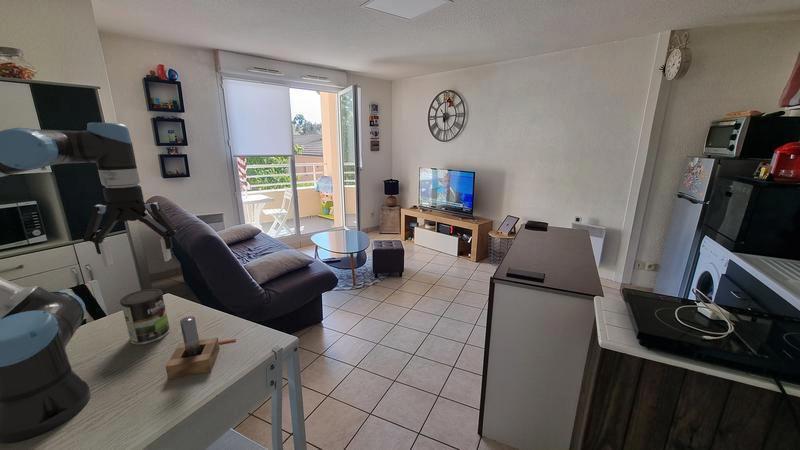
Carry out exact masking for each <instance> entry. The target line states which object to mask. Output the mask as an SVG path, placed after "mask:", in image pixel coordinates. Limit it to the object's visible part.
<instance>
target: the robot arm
mask: <svg viewBox="0 0 800 450" xmlns="http://www.w3.org/2000/svg"><path fill="white" fill-rule="evenodd" d="M86 127H87V128H86V130H61V129H58V130H57V129H39V128H38V129H36V128H35V129H34V128H33V129H32V128H24V127H13V128H12V127H11V128H7V129H3V130H0V178H2V177H6V176H10V175H15V174H19V173H24V172H28V171H32V170H37V169H38V170H39V169H41V168H45V167H48V166H49V167H50V166H56V165H61V164H82V163H83V164H84V163H86V164H91V163H94V164H96V167H97V172H98V176H99V179H100V183H101V186H104V187H103V188H102V193H103V196H104V200H105V202H106V205H103V204H102V203H99V204H96V205H93V206H91V207H90V208H91V216H90V218H89V219H90V220H89V222H88V225H87V228H86V230H85V233H84V235H83V238H82V240H83V241H84V242H91V243H93V244H94V247H95V250H96V253H97V255H101V259H102V263H103V267H109V266H111V265H113V264H114V259H113V254H112V251H111V247H110V246H111V245H110V242H109V240H108V239H106V237H107V236H108V235H109V234H110V232H111V230H112V229H113V228H114V227H115V226H116V224H117V223H118V222H119V221H120V222H123V223H124V222H127V221H129V222H136V221H139V222H140V223H143V224H145V226H146V227H148V228H150V229H151V230H153V231H154V232H155V233H157V235H160V236H161V238H160V240H159V241H160V245H161V250H162V254H163V260H164V262H169V261H170V260H171V259H172V258H173V257H172V253H171V249H172V248H173V247H174V244H173V239H172V237H174V236H176V235H177V234H178V233H179V230H178V228H177V227H176V226H175V225H174V224H173V222H172V221H171V220H170V218H168V216H167V215H166V214H165V213H164V211H163V210H162V209H161V205H160V203H159V202H158V201H155V202H152V203H146V202H145V201H144V199H145V198H144V195H143V190H142V186H141V185H139V184H140V183H141V181H140V174H139V171H138V167H137V161H136V156H135V155H136V154H135V151H134V150H135V149H134V146H133V141H132V140H131V139H132V137H131V135H130V131H129V128H128V126H127V125H125V124H124V123H118V122H116V123H115V122H88V123H87V124H86ZM147 209H148V211H149V212H150V213H151V212H152V214H153V216H154V217H155V218H156V219H157V220H158V221H159V222H160V223H159V222H158V221H156V220H155V219H153V218H152V217H151V215H149V214H148V213H147V212H146V211H147ZM106 212H107V213H108V214H110V216H109V218H108V219H107V221H106V223H105V224H104V225H103V227H101V229H100V230H99V228H100V224H101V222H102V219H103V216H104V214H105V213H106ZM98 230H99V231H98ZM97 232H98V233H97ZM105 239H106V240H105ZM86 312H87V311H86V305H85V303H84V301H83V300H82V298H81V297H79V296H78V295H77V294H75V293H73V292H70V291H66V290H50V291H49V290H47V289H44V288H43V287H41V286H38V285H32V286H20V285H18V284H16V283H14V282H11V281H9V280H8V279H5V278H2V277H1V276H0V443H2V442H10V443H15V442H20V441H21V442H22V441H25V440H27V439H30V438H34V437H36V436H39V435H42V434H44V433H46V432H48V431H50V430H53V429H55V428H56V427H58V426H60V425H61V424H64V423H65V422H66V421H68V420H70V419H71V418H73V416H75V415H76V414H77V413H79V411H81V410H82V409H83V408H84V407H85V406H86V405H87V404H88V402H89V400H90V398H91V395H92V394H91V389H90V386H89V385H88V383H87V382H86V381H84V380H83V379H82V378H81V377H80V376H79V375H78V374H77V373H76V372H75V371H74V370H73V369H72V366H71V363H70V360H69V357H68V353H67V350H66V348H67V345H68V344H69V342H70V340H71V339H72V338H73V336H74V335H75V333H76V332H77V330H78V329H79V328H80V327H81V326H82V324H83V322H84V319H85V316H86Z"/></svg>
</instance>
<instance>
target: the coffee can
mask: <svg viewBox="0 0 800 450" xmlns="http://www.w3.org/2000/svg"><path fill="white" fill-rule="evenodd" d="M119 303H120V305H121V308H122V312H123V315H124V319H125V320H124V321H125V324H126V328H127V333H128V336H129V342H130V343H131V344H133V345H138V346H139V345H146V344H150V343H153V342H156V341H159V340H160V339H162V338H164V337H166V336H167V335H168V334H169V333H170V330H171V328H170V324H169V320H168V315H167V310H166V304H165V300H164V295H163V290H162V289H160V288H147V289H141V290H138V291H137V290H136V291H135V292H132V293H128V294H127V295H125V296H122V298H121V299H120V300H119Z"/></svg>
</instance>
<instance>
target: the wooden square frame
mask: <svg viewBox="0 0 800 450" xmlns="http://www.w3.org/2000/svg"><path fill="white" fill-rule="evenodd" d="M218 341H219V337H217V336H216V337H211V338H205V339H199V343H200V348H201V355H198V356H192V357H187V354H186V349H185V345H184V342H180V343H178V345H177V347H176V348H175V350H174V351H173V353H172V355H171V357H170V358H169V360H168V362H167V363H166V365H165V370H166V374H167V375H166V376H167V380H172V379H176V378H183V377H189V376H194V375H199V374H204V373H210V372H212V369H213V367H214V365H215V363H216V360H217V357H218V354H219V351H220V344H219V342H218Z"/></svg>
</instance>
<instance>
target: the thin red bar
mask: <svg viewBox="0 0 800 450" xmlns="http://www.w3.org/2000/svg"><path fill="white" fill-rule="evenodd" d="M236 341H237V338H232V339H225V340H218V342H219V345H220V344H221V345H222V344H226V343H232V342H236Z"/></svg>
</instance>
